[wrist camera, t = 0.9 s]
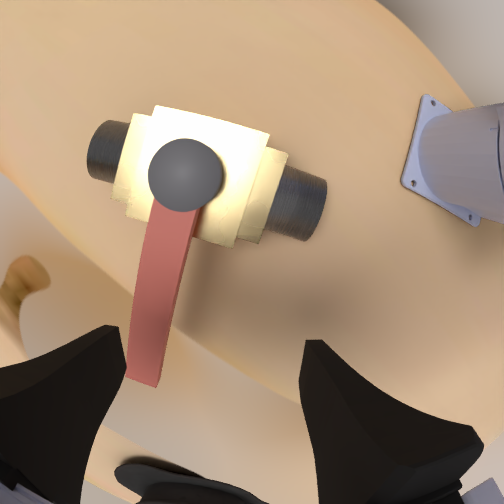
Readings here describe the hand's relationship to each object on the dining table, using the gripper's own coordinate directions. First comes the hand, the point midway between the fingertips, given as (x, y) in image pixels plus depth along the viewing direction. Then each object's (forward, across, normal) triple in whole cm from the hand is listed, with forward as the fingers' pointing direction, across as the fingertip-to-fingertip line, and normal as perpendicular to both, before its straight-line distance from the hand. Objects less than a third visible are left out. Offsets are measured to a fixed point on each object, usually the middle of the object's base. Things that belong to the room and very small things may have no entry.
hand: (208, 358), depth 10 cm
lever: (+4, +3, -1) cm, 6 cm away
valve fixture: (+10, +2, -6) cm, 12 cm away
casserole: (+11, +5, +36) cm, 38 cm away
